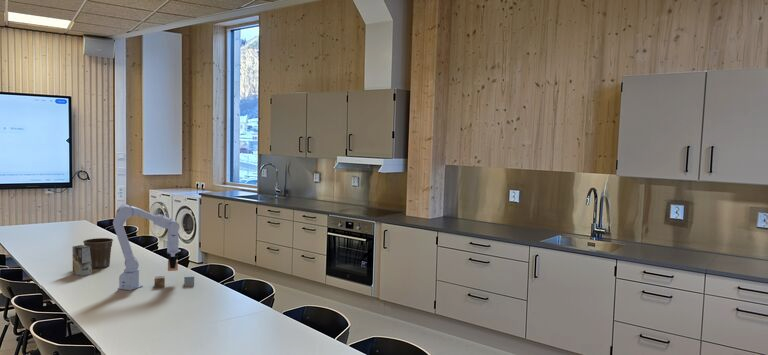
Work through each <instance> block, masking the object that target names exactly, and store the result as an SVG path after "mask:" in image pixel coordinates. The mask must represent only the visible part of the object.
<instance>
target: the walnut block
mask: <svg viewBox="0 0 768 355" xmlns="http://www.w3.org/2000/svg"><path fill="white" fill-rule="evenodd" d="M165 278H166V277H165V275H159V276H157V275H156V276H154V286H153V288H154V289H155V288H157V289H158V288H165V287H166V284H165V282H166V281H165V280H166V279H165Z"/></svg>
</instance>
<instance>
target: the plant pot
mask: <svg viewBox="0 0 768 355" xmlns="http://www.w3.org/2000/svg"><path fill="white" fill-rule="evenodd" d="M113 242H114V239H113V238H110V237H109V238H108V237H100V238H99V237H97V238H90V239H84V240H83V241H82V243H83V245H85V246H91V247H92V269H96V268H99V269H103V268H107V267H110V264H111V255H112V254H111V252H112V246H113Z"/></svg>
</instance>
